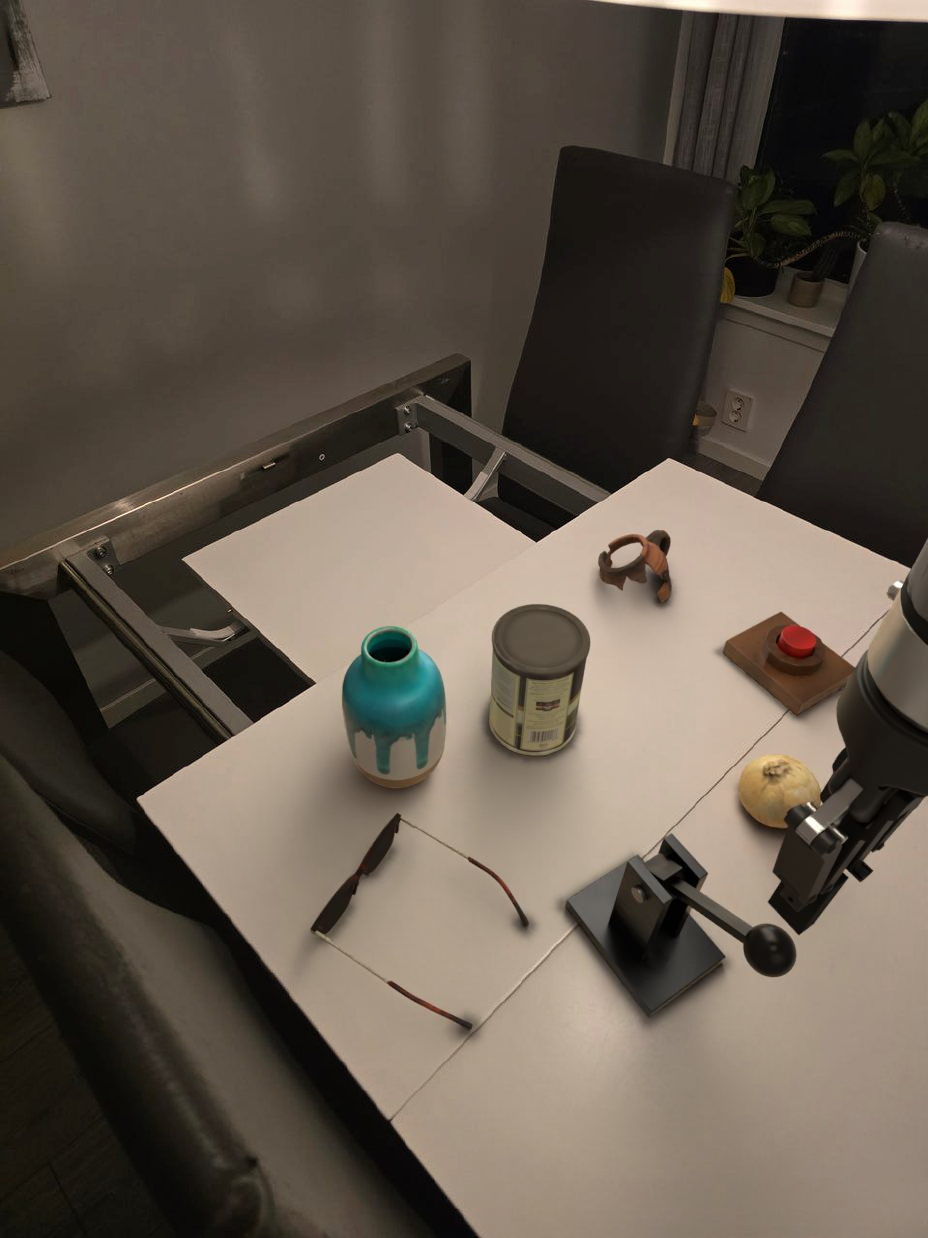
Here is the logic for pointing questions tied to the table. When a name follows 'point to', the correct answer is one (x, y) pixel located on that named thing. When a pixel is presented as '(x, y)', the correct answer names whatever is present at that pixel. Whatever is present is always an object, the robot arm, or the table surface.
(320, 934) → the sunglasses
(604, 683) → the table surface
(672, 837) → the bracket
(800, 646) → the button
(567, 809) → the table surface
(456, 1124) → the table surface
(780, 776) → the onion
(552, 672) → the coffee can
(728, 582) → the table surface
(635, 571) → the pottery mug
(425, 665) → the vase
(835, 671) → the button block
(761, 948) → the lever
